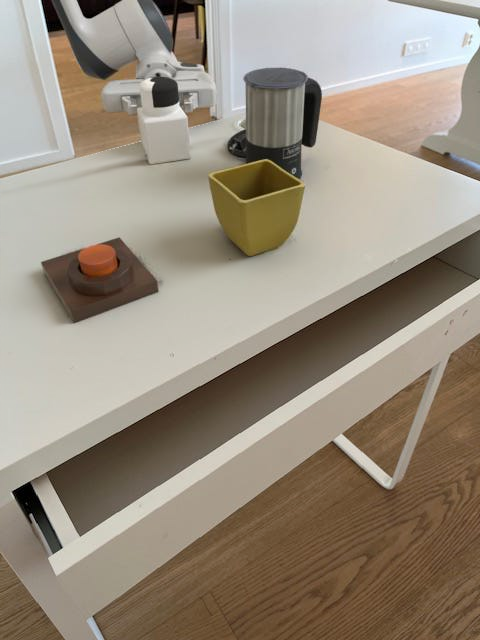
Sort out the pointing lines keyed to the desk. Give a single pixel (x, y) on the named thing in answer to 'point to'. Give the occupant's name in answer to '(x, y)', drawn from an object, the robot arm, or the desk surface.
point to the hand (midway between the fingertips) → (161, 109)
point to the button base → (99, 282)
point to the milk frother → (278, 118)
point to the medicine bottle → (162, 121)
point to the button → (97, 260)
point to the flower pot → (256, 204)
